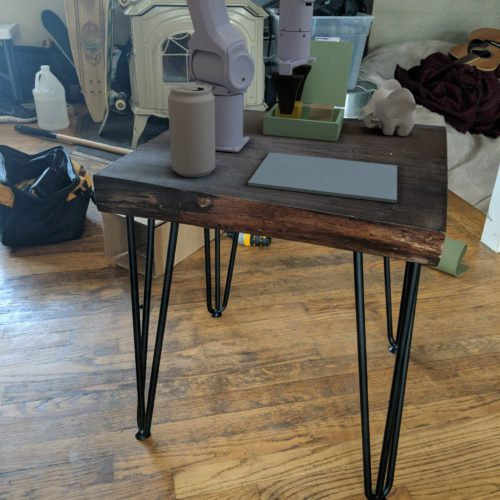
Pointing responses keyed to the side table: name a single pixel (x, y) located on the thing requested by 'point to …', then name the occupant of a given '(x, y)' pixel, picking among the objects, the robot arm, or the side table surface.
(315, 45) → the lunchbox lid
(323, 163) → the placemat
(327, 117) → the birch block
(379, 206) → the side table surface
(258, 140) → the side table surface
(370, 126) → the elephant figurine
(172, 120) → the beverage can
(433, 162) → the side table surface
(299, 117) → the mustard block
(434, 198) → the side table surface
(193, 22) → the robot arm
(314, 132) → the box
